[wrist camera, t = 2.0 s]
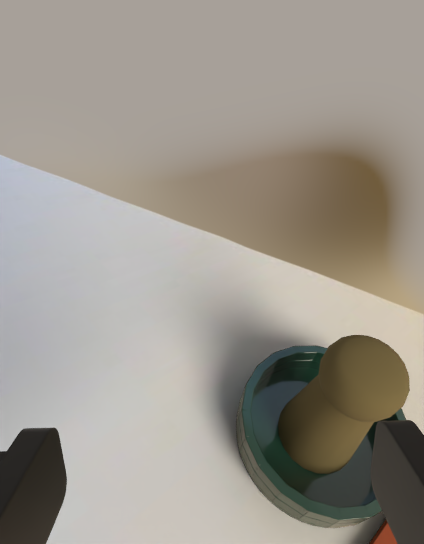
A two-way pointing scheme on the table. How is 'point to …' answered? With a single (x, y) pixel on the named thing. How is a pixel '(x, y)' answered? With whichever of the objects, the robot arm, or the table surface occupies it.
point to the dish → (276, 461)
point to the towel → (384, 535)
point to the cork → (343, 403)
